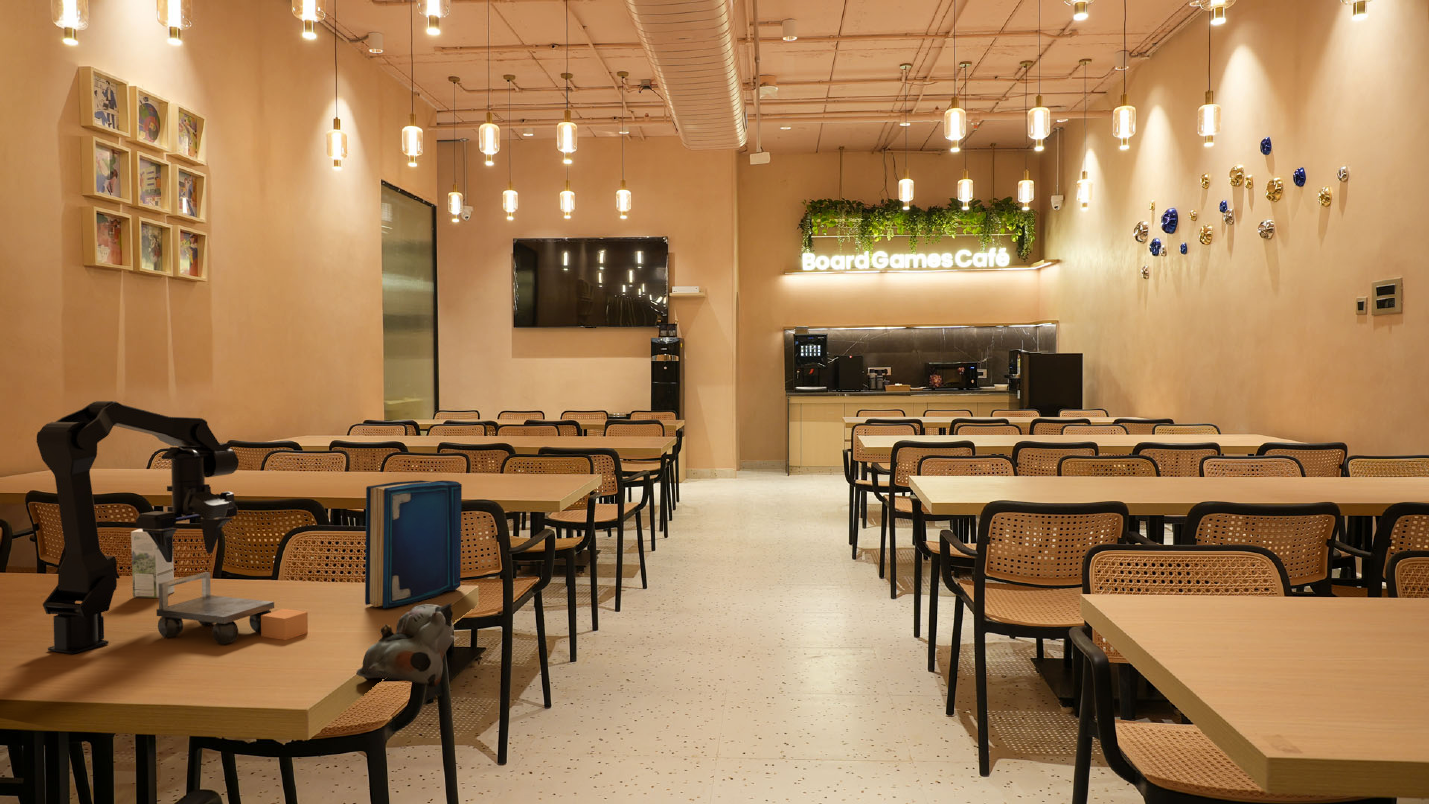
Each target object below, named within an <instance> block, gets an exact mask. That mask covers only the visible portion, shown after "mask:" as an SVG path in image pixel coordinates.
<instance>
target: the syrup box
mask: <svg viewBox="0 0 1429 804" xmlns="http://www.w3.org/2000/svg"><path fill="white" fill-rule="evenodd" d="M130 537H131V540H130V542H131V543H130V544H131V572H132V597H133V598H144V599H145V598H147V599H148V598H150V599H151V598H152V599H155V598H157V599H159V583H163V582H167V581H171V580H175V577H174V575H175V574H174V573H175V571H174V569H175V568H174V557H173V558H172V562H170V563H169V562H166V560H165V559H164V557H163V555H162V554H161V552H160V550H159V548H158V547H157V545H156V544H155V542H154V541H153V539H152V538H151V537H150V535H149V534H148V533H147V532H143V530H142V529H139V528H136V529H135V530H133V531H130ZM172 593H175V585H174V586H170V587H168V595H170V594H172Z"/></svg>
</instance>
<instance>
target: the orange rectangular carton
mask: <svg viewBox="0 0 1429 804" xmlns="http://www.w3.org/2000/svg"><path fill="white" fill-rule="evenodd" d="M308 616H309V615H308V611H303V610H295V609H287V608H282V609H278V610H275V611H271V613H267V614H264V615H261V632H260V635H261V637H264V638H269V639H277V640H283V641H287V640H289V639H292V638H296V637H298V636H301V635H304V634H308V632H309V631H308V630H309V629H308V628H309V627H308V622H309V621H308V620H309V619H308Z"/></svg>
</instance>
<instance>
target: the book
mask: <svg viewBox="0 0 1429 804" xmlns="http://www.w3.org/2000/svg"><path fill="white" fill-rule="evenodd" d="M462 487H463V485H462V483H460V482H459V481H455V480H435V481H431V480H430V481H429V480H407V481H393V482H388V483H382V484H381V483H380V484H375V485H368V486H366V487H365V490H366V491H365V493H366V494H365V561H364V562H365V564H364V565H365V570H364V571H365V576H364V577H365V578H364V579H365V581H364V583H365V585H364V586H365V587H364V588H365V589H364V590H365V591H364V603H365V606H368V605H371V606H372V607H374V608H376V607H382V609H387V608H388V609H389V608H392V607H393V608H395V607H398V606H404V605H410V604H414V603H418V602H422V601H424V600H429V599H433V598H437V597H439V596H440V595H441V594H443V593H444V592H445V593H446V592H451V591H455V590H457V589H458V588H459V589H460V587H461V573H462V572H461V567H462V566H461V563H462V562H461V561H462V558H461V557H462V556H461V554H462V550H461V549H462V494H463V493H462V489H463V488H462Z"/></svg>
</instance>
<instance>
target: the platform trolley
mask: <svg viewBox="0 0 1429 804" xmlns="http://www.w3.org/2000/svg"><path fill="white" fill-rule="evenodd" d="M200 579H201V597H196V598H192V599H190V600H189V599H188V600H186V601H182V602H177V603H175V604H172V605H169V594H168V587H170V586H174V587H175V586H176V585H181V584H186V583H188V582H189V583H190V582H192V581H193V582H194V581H197V580H200ZM211 592H212V591H211V572H210V571H204V572H201V573H200V572H199V573H196V574H193V575H188V576H184V577H180V578H176V579H175V578H174V580H171V581H167V582H163V583H159V597H158V608H157V609H156V617H160V618H159V619H158V621H157V628H158V632H159V634H160V635H161V636H162V637H164V638H168V639H169V638H171V637H174V636H175V637H176V636H177V635H180V634H181V633H182V632H183V629H184V621H183V620H186V621H187V620H189V621H195V622H196V621H197V622H198V624H200V625H201V626H203V627H204V626H205V627H207V626H210V625H213V624H214V625H213V627H212V631H211V632H212V637H213V639H214V641H215V642H216V643H217V644H218V645H221V646H222V645H223V646H224V645H226V644H228V643H232V642H235V641H236V640H237V639H238V636H239V628H238V625H237V623H236V622H235V621H238V620H241V619H244V618H247V617H249V620H248V621H249V625H250V627H251V629H252V630H253V631H254V632H256V633H261V615H264V614H267V613H271V612H272V611H271V610H272V609H275V601H270V600H268V601H267V600H261V599H260V600H259V599H250V598H241V597H233V596H231V597H230V596H220V595H211Z"/></svg>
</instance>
